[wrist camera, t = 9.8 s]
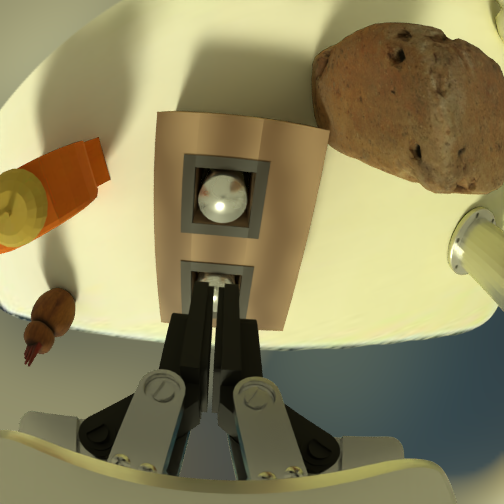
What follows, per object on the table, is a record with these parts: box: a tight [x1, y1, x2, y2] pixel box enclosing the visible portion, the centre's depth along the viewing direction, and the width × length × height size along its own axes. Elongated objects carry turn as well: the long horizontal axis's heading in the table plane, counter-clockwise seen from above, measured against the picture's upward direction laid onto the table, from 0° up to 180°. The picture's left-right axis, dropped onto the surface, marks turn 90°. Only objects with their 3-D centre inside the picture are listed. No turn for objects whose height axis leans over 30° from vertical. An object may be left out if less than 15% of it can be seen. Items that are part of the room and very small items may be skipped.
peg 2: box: [197, 272, 235, 312], centre depth 30 cm, size 4×4×7 cm
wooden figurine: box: [24, 288, 75, 366], centre depth 29 cm, size 7×6×15 cm
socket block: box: [154, 111, 330, 331], centre depth 28 cm, size 14×22×7 cm, turn 173°
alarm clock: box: [0, 137, 111, 254], centre depth 18 cm, size 13×6×20 cm, turn 100°
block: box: [312, 23, 504, 194], centre depth 16 cm, size 11×8×20 cm
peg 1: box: [198, 168, 247, 223], centre depth 25 cm, size 4×4×7 cm
